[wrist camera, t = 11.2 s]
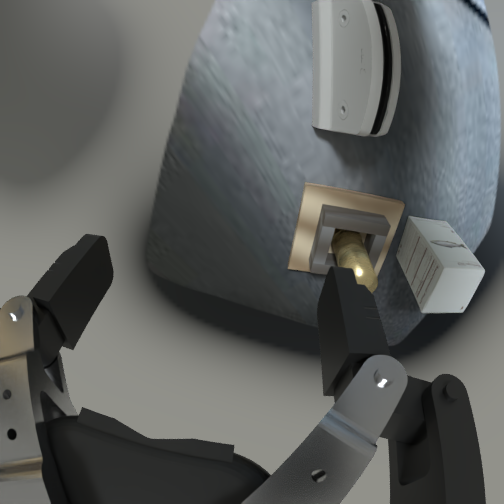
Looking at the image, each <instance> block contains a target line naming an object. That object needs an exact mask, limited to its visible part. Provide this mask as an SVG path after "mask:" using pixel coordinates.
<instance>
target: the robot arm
mask: <svg viewBox="0 0 504 504" xmlns="http://www.w3.org/2000/svg"><path fill="white" fill-rule="evenodd" d="M112 280H113V267H112V262H111V258H110V253H109V249H108V243H107V240H106V238H105V237H104V236H98V235H91V234H85V235H84V236H83V237H82V238H81V239H80V240H79V241H78V243H77V244H76V245H75V246H72V247H71V248H69V249H68V250H66V251H65V252H63V253H62V254H61V255H60V256H59V258H58V259H57V260H56V261H55V263H53V264H52V266H51V267H50V268H49V271H47V272H46V273H45V274H44V275H43V277H42V278H41V279H40V281H38V283H37V284H36V285H35V287H34V288H33V289H32V290H31V292H30V293H29V294H28V295H27V296H16V297H13V298H11V299H10V300H9V301H7V302H6V303H5V304H4V305H3V306H2V308H0V504H340V503H341V501H342V500H343V499H344V497H345V496H346V495H347V494H348V492H349V491H350V489H351V488H352V487H353V485H354V484H355V483H356V481H357V480H358V478H359V477H360V476H361V474H362V473H363V471H364V470H365V468H366V467H367V465H368V464H369V462H370V461H371V459H372V458H373V456H374V454H375V452H376V449H377V445H376V441H377V439H378V438H379V437H382V438H386V439H388V444H389V461H390V462H389V463H390V504H486V501H485V487H484V477H483V469H482V461H481V455H480V449H479V443H478V437H477V432H476V427H475V422H474V418H473V414H472V409H471V405H470V401H469V397H468V394H467V390H466V388H465V386H464V384H463V383H462V382H461V381H460V380H459V379H458V378H457V377H455V376H453V375H450V374H442V375H439V376H438V377H437V378H436V379H435V380H434V381H433V382H432V383H431V382H427V381H424V380H420V379H417V378H413V377H411V376H408V375H407V373H406V371H405V369H404V367H403V366H402V365H401V364H400V363H399V362H398V361H397V360H396V359H394V358H392V357H391V355H390V352H389V348H388V344H387V340H386V337H385V333H384V329H383V326H382V322H381V320H380V316H379V312H378V310H377V306H376V302H375V299H374V296H373V295H372V293H371V292H370V291H369V290H368V288H367V287H366V286H365V285H362V284H357V281H356V277H355V274H354V271H353V269H352V268H344V267H336V266H331V267H330V268H329V270H328V273H327V276H326V280H325V283H324V286H323V289H322V292H321V295H320V298H319V302H318V308H317V319H318V329H319V340H320V352H321V364H322V379H323V394H324V396H334V399H335V404H334V406H333V407H332V408H331V409H330V411H329V412H328V413H327V414H326V415H325V416H324V418H323V419H322V420H321V421H320V422H319V424H318V425H317V426H316V427H315V429H314V430H313V431H312V432H311V433H310V434H309V436H308V437H307V438H306V439H305V440H304V441H303V443H301V445H300V446H299V447H298V448H297V449H296V450H295V451H294V452H293V453H292V454H291V456H290V457H289V458H288V459H287V460H286V461H285V462H284V463H283V464H282V465H281V466H280V467H279V468H278V469H277V470H276V471H275V472H274V473H273V474H272V475H270V474H269V473H268V472H267V471H266V470H265V469H263V468H262V467H261V466H260V465H258V464H256V463H255V462H253V461H252V460H250V459H247V458H245V457H243V456H241V455H238V454H236V453H233V452H234V445H229V444H222V443H215V442H209V441H203V440H198V439H150V438H147V437H145V436H143V435H141V434H139V433H138V432H136V431H134V430H133V429H131V428H129V427H128V426H126V425H124V424H123V423H121V422H119V421H118V420H116V419H114V418H111V417H108V416H105V415H102V414H99V413H96V412H94V411H91V410H89V409H86V408H83V407H82V410H81V412H80V414H79V415H78V414H77V412H76V410H75V408H74V406H73V405H72V402H71V400H70V397H69V393H68V388H67V384H66V379H65V374H64V369H63V363H62V357H61V354H60V352H59V350H60V349H61V347H62V346H63V347H66V348H69V349H72V350H73V349H74V347H75V346H76V343H77V342H78V340H79V338H80V337H81V335H82V333H83V331H84V329H85V327H86V326H87V324H88V322H89V321H90V319H91V317H92V315H93V314H94V312H95V310H96V309H97V307H98V305H99V303H100V302H101V300H102V299H103V297H104V295H105V294H106V292H107V290H108V289H109V287H110V286H111V283H112Z"/></svg>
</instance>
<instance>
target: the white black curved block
mask: <svg viewBox="0 0 504 504" xmlns="http://www.w3.org/2000/svg"><path fill="white" fill-rule="evenodd" d="M312 30H313V104H312V126H313V127H316V128H319V129H324V130H329V131H334V132H340V133H347V134H353V135H359V136H364V137H365V136H372V137H377V136H382V135H385V134H387V132H388V130H389V128H390V125H391V122H392V119H393V116H394V113H395V109H396V104H397V100H398V94H399V88H400V78H401V53H400V43H399V36H398V31H397V27H396V23H395V20H394V17H393V14H392V11H391V9H390V8H389V7H387V6H386V5H384V4H382V3H380V2H372V1H371V0H317V1H315V2H312Z"/></svg>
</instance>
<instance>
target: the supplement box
mask: <svg viewBox="0 0 504 504" xmlns="http://www.w3.org/2000/svg"><path fill="white" fill-rule="evenodd" d="M396 257H397V259H398V261H399V263H400V265H401V268H402V270H403V272H404V274H405V276H406V278H407V280H408V283H409V285H410V287H411V289H412V291H413V294H414V296H415V298H416V300H417V303H418V305H419V307H420V310H421V312H422V313H457V312H458V313H460V312H461V313H462V312H463V311H464V310H465V308H466V306H467V305H468V303H469V301H470V300H471V298H472V296H473V294H474V292H475V290H476V288H477V287H478V285H479V283H480V281H481V279H482V277H483V275H484V272H485V270H484V268H483V267H482V266H481V264H480V263H479V262H478V260H477V259H476V258H475V256H474V255H473V254H472V252H471V251H470V250H469V248H468V247H467V246H466V245H465V243H464V242H463V241H462V240H461V238H460V237H459V236H458V235H457V233H456V232H455V231H454V230H453V229H452V227H451V226H450V225H449V224H448V223H447V222H446V221H439V220H431V219H425V218H419V217H413V216H408V219H407V222H406V226H405V229H404V232H403V235H402V238H401V241H400V244H399V247H398V251H397V254H396Z"/></svg>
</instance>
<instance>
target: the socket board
mask: <svg viewBox="0 0 504 504" xmlns="http://www.w3.org/2000/svg"><path fill="white" fill-rule="evenodd" d="M404 206H405V204H404V203H403V202H402V201H399V200H395V199H390V198H386V197H381V196H377V195H372V194H367V193H362V192H357V191H352V190H347V189H341V188H336V187H331V186H325V185H319V184H313V183H307V182H305V184H304V190H303V195H302V200H301V205H300V210H299V214H298V219H297V224H296V229H295V234H294V238H293V243H292V248H291V252H290V257H289V261H288V269H293V270H301V271H308V272H310V273H317V274H325V275H327V273H328V270H329V268H330V267H331V266H336V267H338V264H337V260H336V256H335V252H334V250H333V247H332V243H331V241H332V238H333V234H334V231H335V229H336V228H338V229H344V230H350V231H356V232H360V235H361V237H362V241H363V244H364V246H365V248H366V251H367V253H368V256H369V258H370V261H371V263H372V266H373V268H374V271H375V274H376V276H378V274H379V271H380V269H381V267H382V264H383V262H384V259H385V257H386V254H387V252H388V249H389V247H390V244H391V242H392V239H393V237H394V234H395V231H396V229H397V226H398V223H399V221H400V218H401V215H402V212H403V209H404Z"/></svg>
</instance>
